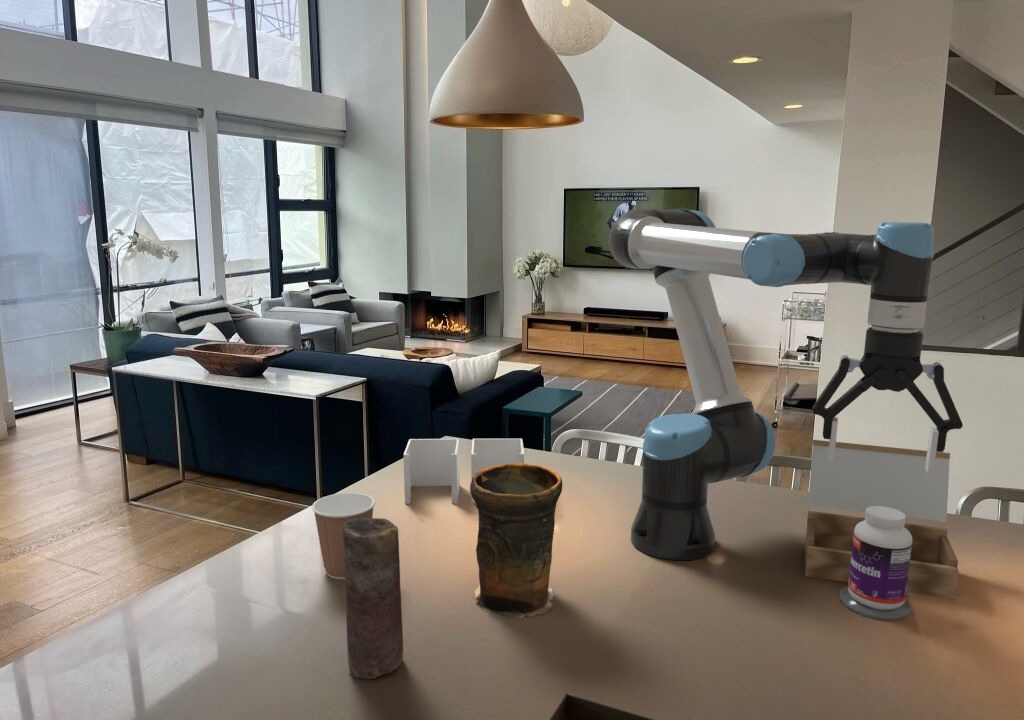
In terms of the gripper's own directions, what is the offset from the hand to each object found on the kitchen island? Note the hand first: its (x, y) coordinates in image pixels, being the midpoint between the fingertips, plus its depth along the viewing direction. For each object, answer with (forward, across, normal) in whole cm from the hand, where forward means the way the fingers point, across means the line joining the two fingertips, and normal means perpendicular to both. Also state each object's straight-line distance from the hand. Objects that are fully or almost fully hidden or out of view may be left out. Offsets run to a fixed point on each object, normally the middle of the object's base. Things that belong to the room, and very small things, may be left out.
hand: (878, 465), depth 115 cm
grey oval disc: (+22, +1, -2) cm, 22 cm away
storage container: (+24, -78, +17) cm, 83 cm away
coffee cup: (+23, -81, -23) cm, 88 cm away
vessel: (+22, -51, -21) cm, 60 cm away
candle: (+22, -62, -45) cm, 80 cm away
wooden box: (+22, +2, +10) cm, 24 cm away
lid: (+8, +2, +18) cm, 20 cm away
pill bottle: (+21, +2, -2) cm, 21 cm away
